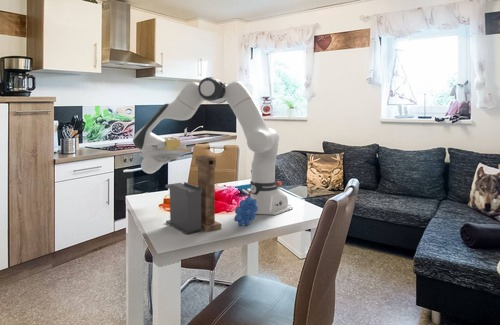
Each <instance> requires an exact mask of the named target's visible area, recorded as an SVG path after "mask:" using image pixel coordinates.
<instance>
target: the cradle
mask: <svg viewBox="0 0 500 325" xmlns="http://www.w3.org/2000/svg"><path fill="white" fill-rule="evenodd" d="M164 186H165V188H166V189H169V213H170V214H169V215H170V216H169V217H170V219H168V220H165V223H166V225H169V226H171V227H172V228H174V229H176V230H178V231H179V232H181V233H183V234H185V235H190V234H196V233H199V232H204V231H203V229H202V228H201V193H202V188H201V187H198V185H196V184H193V183H189V182H183V183H182V182H176V183H169V184H165V185H164Z"/></svg>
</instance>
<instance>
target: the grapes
mask: <svg viewBox="0 0 500 325" xmlns="http://www.w3.org/2000/svg"><path fill="white" fill-rule="evenodd" d="M256 203H257V201H256V200H255V199H252V198H251V197H250V196H247V197H246V198H245V199H241V200H240V201H239V205H238V206H236V208H235V210H234V213H235V214H236V215H235V216H234V221H235V222H236V223H237V225H238V226H239V227H243V226H246V227H247V226H249V225H250V224H251V221H253V220H255V218H256V214H255V212H257V210H258V207H257V206H256Z"/></svg>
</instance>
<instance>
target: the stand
mask: <svg viewBox="0 0 500 325" xmlns="http://www.w3.org/2000/svg"><path fill="white" fill-rule="evenodd" d="M216 161H217V158H216V157H213V156H210V155H196V156H195V161H194V162H195V166H197V186H198V187H201V188H202V193H201V228H202V229H203V231H202V232H205V233H208V232H213V231H217V230H221V229H222V223H221V222H218V221H217V220H215V218H216V217H215V216H216V214H215V213H216V211H215V210H216V209H215V206H216V205H215V204H216V203H215V201H216V200H215V199H216V198H215V195H216V193H215V188H216V187H215V186H216V185H215V182H216V181H215V180H216V179H215V177H216V176H215V175H216V174H215V173H216V172H215V168H216V167H217V162H216Z"/></svg>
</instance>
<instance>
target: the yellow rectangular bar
mask: <svg viewBox="0 0 500 325" xmlns="http://www.w3.org/2000/svg"><path fill="white" fill-rule="evenodd" d="M165 141H166V146H165V147H166V150H176V151H184V152H185V153H190V152H192V148H191V147H186V148H184V147H180V143H181V139H178V138H171V139H169V138H167V139H165Z"/></svg>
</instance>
